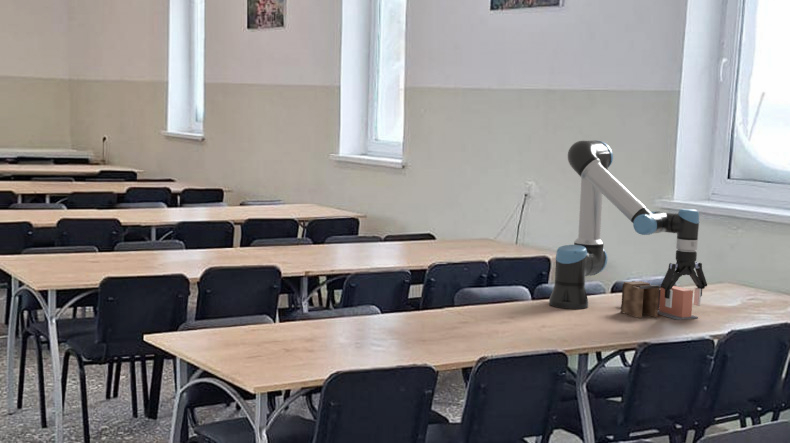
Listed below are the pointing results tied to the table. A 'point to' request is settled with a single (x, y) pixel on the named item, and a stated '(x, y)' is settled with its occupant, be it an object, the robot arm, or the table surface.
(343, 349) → the table surface
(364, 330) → the table surface
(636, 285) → the brown wooden slotted holder
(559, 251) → the robot arm
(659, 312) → the pad
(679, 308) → the salmon pink brick
